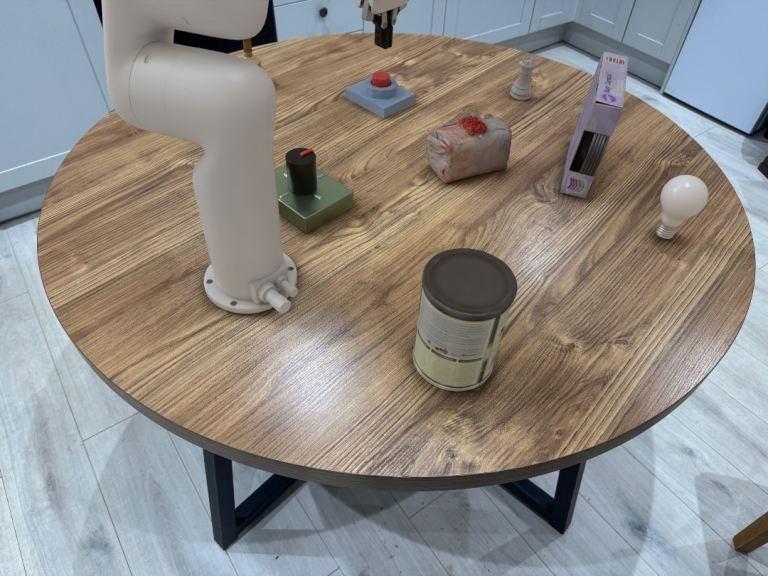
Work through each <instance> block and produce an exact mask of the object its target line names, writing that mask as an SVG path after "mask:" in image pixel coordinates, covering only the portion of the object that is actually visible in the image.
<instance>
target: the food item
mask: <svg viewBox="0 0 768 576" xmlns="http://www.w3.org/2000/svg"><path fill="white" fill-rule="evenodd" d="M512 135H513V131H512V128H510V127H509V126H508V124H507V123H506V122H505V121H504V120H503V119H502V118H500V117H499V116H494V117H488V118H482V119H481V118H480V117H478V116H475V117H474V116H473V115H471V114H470V112H468V111H466V112H465V113H464V114H463V116H462V118H459V119H458V121H455V122H451V123H446V124H444V125H442V126H440V127H438V128H435V130H434V132H433V133H432V134H431V133H429V134H428V135H427V137H426V149H425V150H426V151H425V158H426V159H427V161H428V163H429V164H430V167H431V169H432V170H433V172H435V173H436V175H437V176H438V178H439V179H440V180H441V181H442V182H443V183H444V184H449V183H451V182H452V183H453V182H456V181H459V180H462V179H463V180H464V179H466V178H470V177H474V176H480V175H485V174H488V173H492V172H497V171H502V170H506V169H507V168H509V167H508V166H509V165H508V162H509V159H510V153H511V147H512Z"/></svg>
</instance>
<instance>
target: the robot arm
mask: <svg viewBox="0 0 768 576" xmlns="http://www.w3.org/2000/svg"><path fill="white" fill-rule="evenodd" d="M269 1H270V0H101V13H102V14H101V15H102V33H103V35H102V36H103V51H104V52H103V53H104V54H103V55H104V69H105V81H106V83H105V84H106V89H107V93H108V97H109V100H110V104H111V105H112V108H113V110H114V111H115V113H116V114H117V116H118V117H119V118H120V119H121V120H122V121H123V122H124V123H126V124H127V125H130V126H131V127H134V128H136V129H139V130H142V131H145V132H149V133H154V134H158V135H163V136H166V137H171V138H174V139H178V140H181V141H184V142H187V143H192V144H195V145H196V146H199V147H200V148H201V149H202V151H203V154H202V155H201V157H199V159H198V160H197V162H196V163H195V164H194V167H193V170H192V175H191V183H192V189H193V193H194V197H195V201H196V205H197V209H198V213H199V218H200V222H201V226H202V230H203V231H202V232H203V234H204V235H203V236H204V239H205V243H206V247H207V248H206V249H207V252H208V256H209V260H210V264H209V265H208V266H207V268H206V270H205V273H204V276H203V286H204V290H205V293H206V296H207V297H208V299H209V300H210V302H212V303H213V304H214V305H215V306H217V307H218V308H220V309H222V310H224V311H226V312H230V313H234V314H241V315H242V314H243V315H245V314H246V315H247V314H248V315H251V314H258V313H262V312H265V311H269V310H272V309H273V308H274V309H275V310H276V311H277V312H278V313H279V314H281V315H284V314H286V313H287V312H289V310H290V309H291V307H292V302H291V301H290V300H289V299H288V298H289V297H290V298H295V297H297V295H298V294H299V288H298V287H297V284H298V270H297V267H296V264H295V262H294V261H293V259H292V258H291V257H290V256H289V254H287V253H285V252H284V245H283V237H282V236H283V234H282V228H281V227H282V225H281V218H280V217H281V215H280V214H279V207H278V198H277V188H276V180H275V169H276V168H275V155H274V154H275V153H274V152H275V151H274V145H275V144H274V141H275V139H274V138H275V126H276V118H277V105H278V103H277V101H278V100H277V91H276V86H275V84H274V82H273V80H272V78H271V76H270V75H269V74H268V72H267V71H265V69H263V67H262V68H261V67H259V66H258V65H256V64H255V63H253V62H251V61H248V60H246V59H243V58H241V57H240V56H237V55H233V54H231V53H230V54H229V53H226V52H221V51H216V50H210V49H206V48H201V47H195V46H188V45H183V44H179V43H174V36H175V31H176V30H177V31H182V32H185V33H186V32H187V33H192V34H197V35H201V36H207V37H212V38H218V39H225V40H235V41H241V40H242V41H243V39H249V38H251V39H252V38H253V37H256V36H257V35H258V34H259V33H260V32H261V31H262V29H263V27H264V25H265V23H266V19H267V16H268V10H269V9H268V8H269V3H270V2H269ZM409 1H410V0H355V3H356V7H357V8H359V9H362V11H361V20H363V21H366V22H372V25H374V42H373V43H374V45H375V46H377V47H379V48H380V49H383V50H388V49H391V48H392V47H393V40H394V39H393V37H394V26H395V25H396V23H397V19H398V16H399V14H400V12H401V11H403V10H404V9H405V8H406V7H407V6H408V2H409Z"/></svg>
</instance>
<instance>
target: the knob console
mask: <svg viewBox="0 0 768 576" xmlns="http://www.w3.org/2000/svg"><path fill="white" fill-rule="evenodd" d="M274 169H275V180H276V188H277V198H278V207H279V216H280V217H283V218H284V219H285V220H287V221H288V222H289V223H291V224H292V225H293V226H295V227H296V228H298V229H299V230H300V231H302V232H303V233H304V234H305V235H307V234H309V233H311V232H312V231H314V230H315V229H318V228H319V227H321V226H322V225H325V224H326V223H328V222H330V221H331V220H333V219H335V218H337V217H338V216H340V215H342V214H343V213H345V212H347V211H348V210H350V209H352V208H354V206H355V204H354V198H355V196H354V195H355V192H354V190H352V189H351V188H349V187H347V186H346V185H344V183H343V184H342V183H341V182H340V181H338V180H336V179H335V178H333V177H332V176H330V175H329V174H327V173H326V172H324V171H322V170H321V169H320V168H318V167H316V169H317V188H316V189H315V190H314V191H313V192H311V193H308V194H296V193H293V192H292V191H290V190H289V188H288V181H287V170H286V163H285V164H283V165H282V166H279V167H277V168H274Z"/></svg>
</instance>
